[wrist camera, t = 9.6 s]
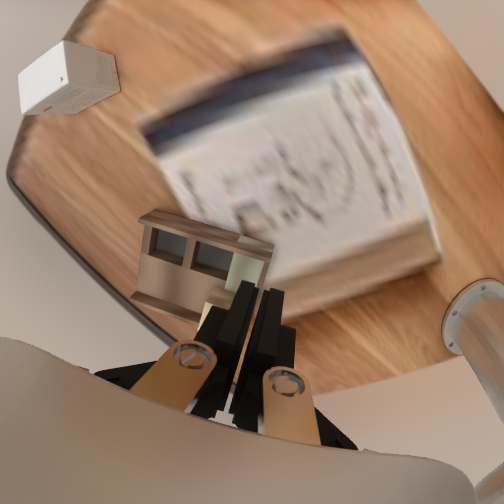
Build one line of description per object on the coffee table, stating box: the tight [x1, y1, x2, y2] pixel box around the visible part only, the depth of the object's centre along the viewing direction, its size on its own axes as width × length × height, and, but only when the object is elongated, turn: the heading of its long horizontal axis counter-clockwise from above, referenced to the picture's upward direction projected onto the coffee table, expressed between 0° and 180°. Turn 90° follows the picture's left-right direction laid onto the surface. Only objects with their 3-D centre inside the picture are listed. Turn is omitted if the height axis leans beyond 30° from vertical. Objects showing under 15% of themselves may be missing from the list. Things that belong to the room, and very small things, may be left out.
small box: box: [18, 40, 120, 115], centre depth 27 cm, size 8×6×10 cm
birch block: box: [198, 286, 236, 331], centre depth 35 cm, size 4×4×4 cm
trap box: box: [129, 209, 274, 326], centre depth 36 cm, size 15×11×4 cm
